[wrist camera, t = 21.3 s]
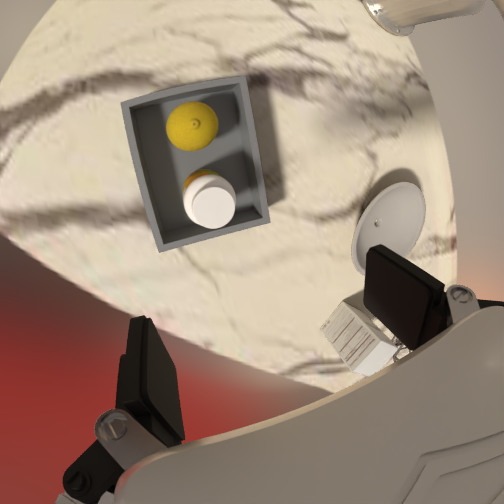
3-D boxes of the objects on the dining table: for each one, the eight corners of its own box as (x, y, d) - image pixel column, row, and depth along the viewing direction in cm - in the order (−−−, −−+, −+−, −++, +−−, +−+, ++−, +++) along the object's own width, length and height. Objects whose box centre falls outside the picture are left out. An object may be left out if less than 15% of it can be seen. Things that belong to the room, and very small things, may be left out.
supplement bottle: (225, 168, 33) (244, 178, 24) (224, 209, 35) (242, 234, 26) (181, 168, 31) (184, 179, 23) (182, 211, 33) (185, 237, 25)
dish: (356, 280, 48) (372, 293, 43) (318, 227, 41) (335, 239, 36) (415, 216, 46) (433, 224, 42) (388, 157, 39) (409, 161, 35)
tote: (128, 107, 27) (120, 102, 23) (235, 83, 29) (245, 75, 25) (160, 237, 35) (159, 252, 30) (258, 211, 37) (270, 222, 33)
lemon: (170, 104, 28) (168, 93, 21) (216, 108, 29) (228, 99, 22) (165, 149, 30) (161, 151, 23) (210, 151, 31) (220, 155, 24)
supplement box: (362, 310, 52) (400, 348, 40) (339, 338, 53) (372, 379, 42) (342, 298, 48) (382, 339, 37) (317, 329, 50) (351, 374, 39)
